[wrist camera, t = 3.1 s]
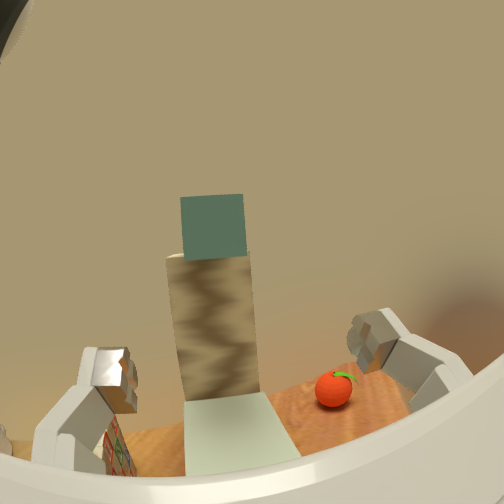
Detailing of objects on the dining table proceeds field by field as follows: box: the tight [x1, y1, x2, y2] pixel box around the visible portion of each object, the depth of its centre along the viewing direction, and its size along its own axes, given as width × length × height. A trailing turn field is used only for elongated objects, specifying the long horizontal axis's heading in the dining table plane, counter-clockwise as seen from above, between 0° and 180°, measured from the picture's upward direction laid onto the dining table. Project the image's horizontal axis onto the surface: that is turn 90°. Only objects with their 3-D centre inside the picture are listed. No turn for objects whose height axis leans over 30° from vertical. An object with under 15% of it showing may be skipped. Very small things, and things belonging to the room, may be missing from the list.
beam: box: [180, 194, 247, 261], centre depth 29 cm, size 4×22×4 cm, turn 12°
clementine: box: [315, 371, 358, 407], centre depth 46 cm, size 8×7×7 cm
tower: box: [166, 251, 260, 401], centre depth 33 cm, size 8×12×30 cm, turn 12°
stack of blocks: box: [93, 416, 136, 477], centre depth 18 cm, size 21×6×12 cm, turn 19°
